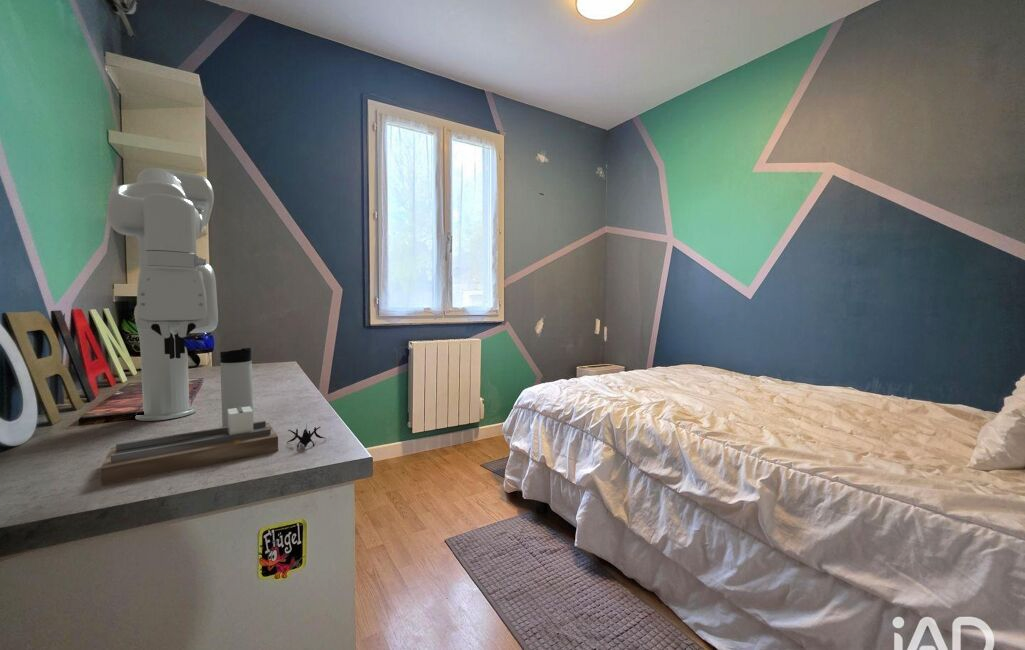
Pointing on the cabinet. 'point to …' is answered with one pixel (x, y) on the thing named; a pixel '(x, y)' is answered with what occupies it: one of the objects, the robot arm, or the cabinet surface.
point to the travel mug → (235, 381)
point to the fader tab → (240, 420)
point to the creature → (305, 436)
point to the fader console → (184, 452)
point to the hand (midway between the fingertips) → (175, 357)
